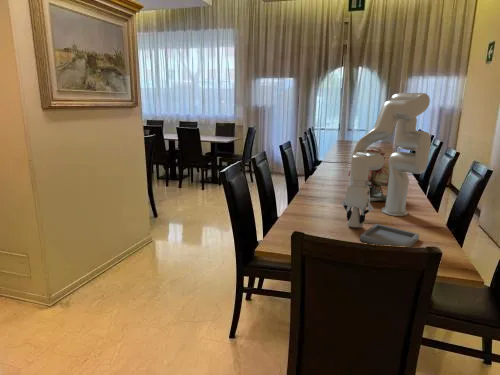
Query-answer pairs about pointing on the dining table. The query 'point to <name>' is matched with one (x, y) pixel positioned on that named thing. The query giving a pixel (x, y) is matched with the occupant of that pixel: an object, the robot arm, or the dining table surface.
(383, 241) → the serving tray
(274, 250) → the dining table surface
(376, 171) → the rose bouquet
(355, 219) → the flask
